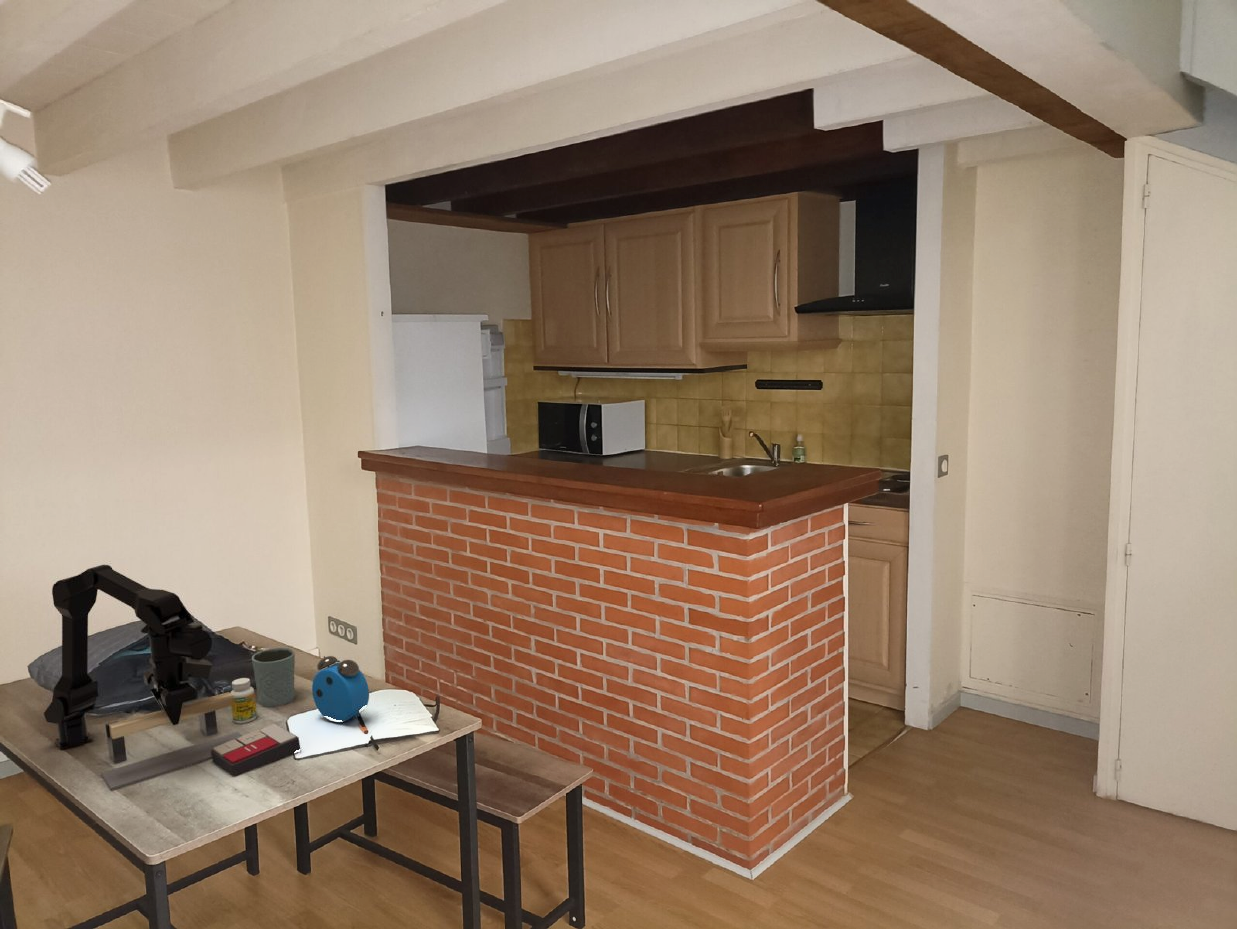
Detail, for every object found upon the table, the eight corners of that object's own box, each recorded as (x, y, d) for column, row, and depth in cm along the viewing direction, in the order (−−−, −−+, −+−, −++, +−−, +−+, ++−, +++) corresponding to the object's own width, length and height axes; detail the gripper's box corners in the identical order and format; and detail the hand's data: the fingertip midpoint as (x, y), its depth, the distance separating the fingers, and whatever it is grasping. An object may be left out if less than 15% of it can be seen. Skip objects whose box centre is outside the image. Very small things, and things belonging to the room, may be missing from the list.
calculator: (209, 747, 195) (275, 720, 206) (212, 765, 196) (278, 738, 207) (231, 762, 188) (299, 734, 198) (234, 781, 189) (301, 752, 199)
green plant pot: (269, 691, 234) (264, 647, 232) (306, 692, 232) (302, 647, 231) (248, 708, 224) (243, 661, 222) (286, 709, 223) (282, 662, 221)
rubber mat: (101, 775, 191) (101, 772, 191) (238, 734, 209) (237, 731, 209) (111, 790, 184) (110, 788, 184) (251, 746, 202) (251, 744, 202)
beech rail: (110, 735, 189) (109, 724, 188) (229, 702, 204) (228, 692, 204) (112, 739, 187) (111, 728, 187) (233, 705, 202) (232, 695, 202)
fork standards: (109, 756, 200) (105, 724, 199) (211, 726, 214) (207, 696, 213) (114, 764, 196) (110, 731, 195) (217, 733, 210) (214, 702, 209)
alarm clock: (372, 719, 215) (367, 658, 213) (352, 729, 209) (347, 667, 207) (332, 709, 221) (327, 650, 219) (312, 719, 216) (307, 658, 214)
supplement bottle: (254, 712, 221) (250, 675, 220) (259, 720, 217) (255, 681, 215) (230, 718, 218) (226, 680, 217) (235, 726, 214) (231, 687, 212)
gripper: (219, 654, 191) (226, 724, 194) (193, 634, 205) (200, 699, 208) (162, 668, 184) (170, 741, 187) (139, 646, 198) (147, 714, 201)
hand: (174, 722), depth 196 cm, fingers closed on beech rail, 2 cm apart
